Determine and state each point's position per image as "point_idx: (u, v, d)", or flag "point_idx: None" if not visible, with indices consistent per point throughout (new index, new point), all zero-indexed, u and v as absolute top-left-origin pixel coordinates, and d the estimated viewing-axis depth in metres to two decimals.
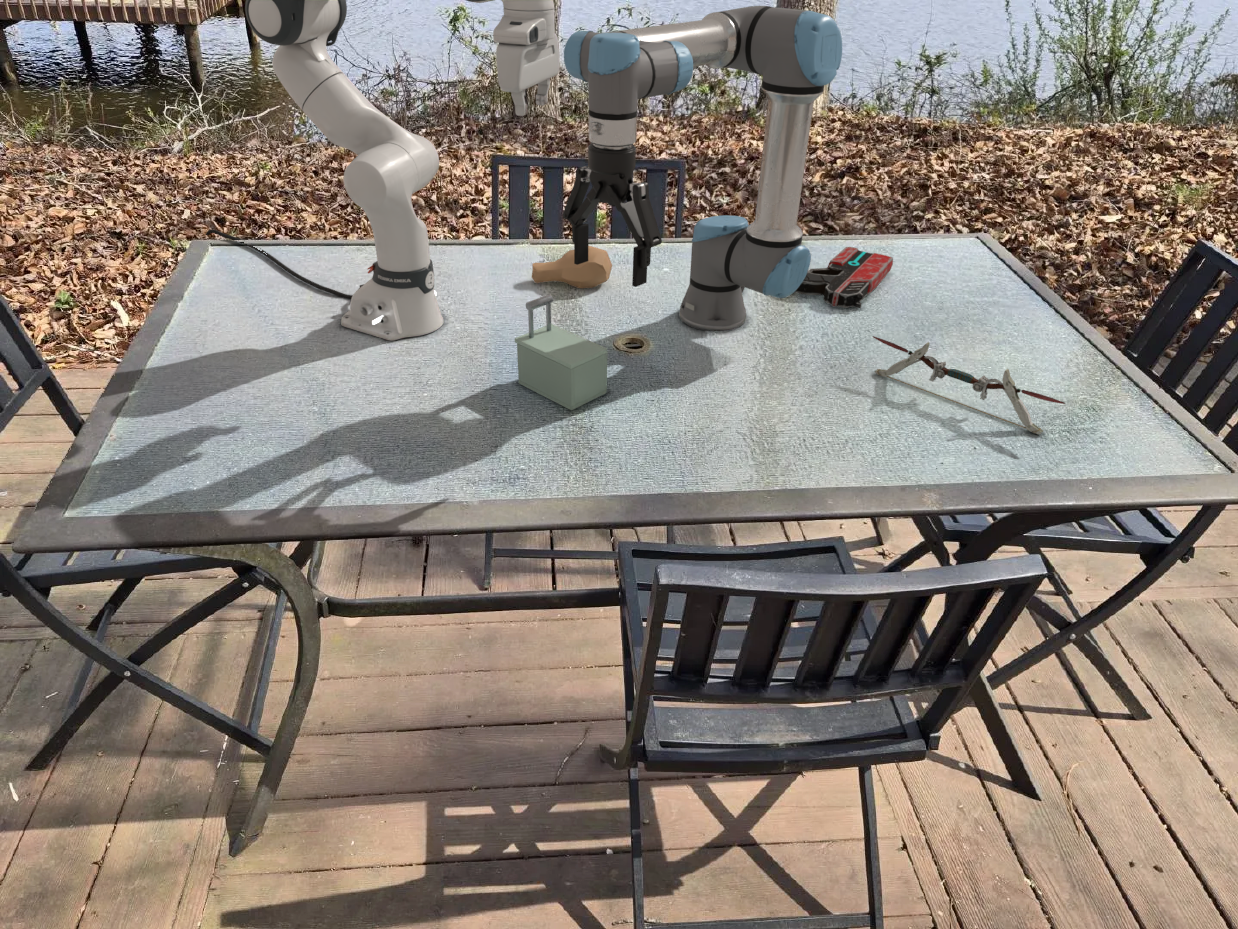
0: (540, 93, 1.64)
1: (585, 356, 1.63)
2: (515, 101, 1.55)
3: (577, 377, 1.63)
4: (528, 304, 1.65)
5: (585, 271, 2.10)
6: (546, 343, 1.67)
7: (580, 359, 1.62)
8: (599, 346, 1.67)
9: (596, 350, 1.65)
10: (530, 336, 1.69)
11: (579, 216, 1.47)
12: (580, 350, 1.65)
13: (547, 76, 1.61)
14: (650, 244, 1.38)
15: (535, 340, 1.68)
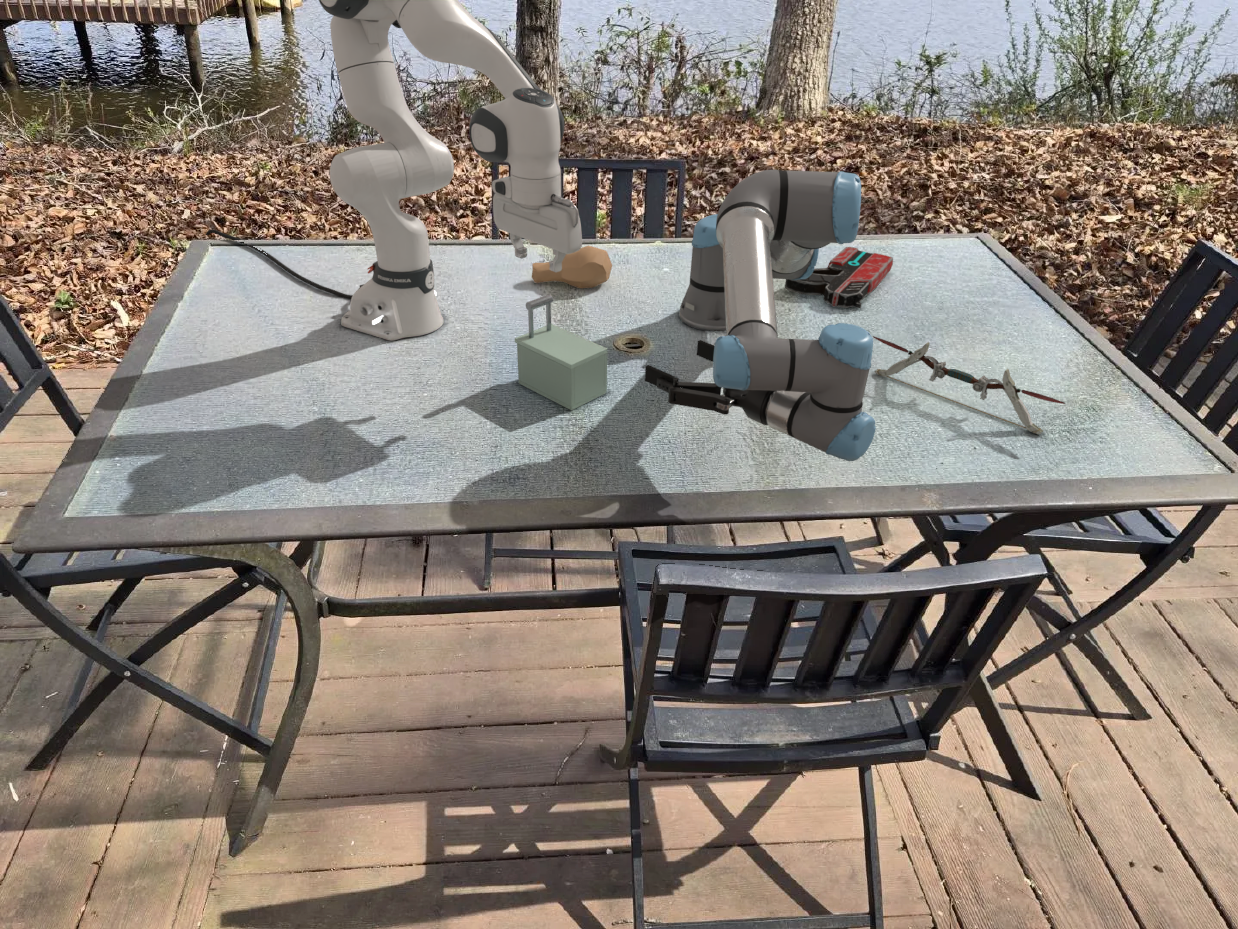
0: None
1: (585, 356, 1.63)
2: None
3: (577, 377, 1.63)
4: (528, 304, 1.65)
5: (585, 271, 2.10)
6: (546, 343, 1.67)
7: (580, 359, 1.62)
8: (599, 346, 1.67)
9: (596, 350, 1.65)
10: (530, 336, 1.69)
11: None
12: (580, 350, 1.65)
13: (543, 243, 1.57)
14: None
15: (535, 340, 1.68)
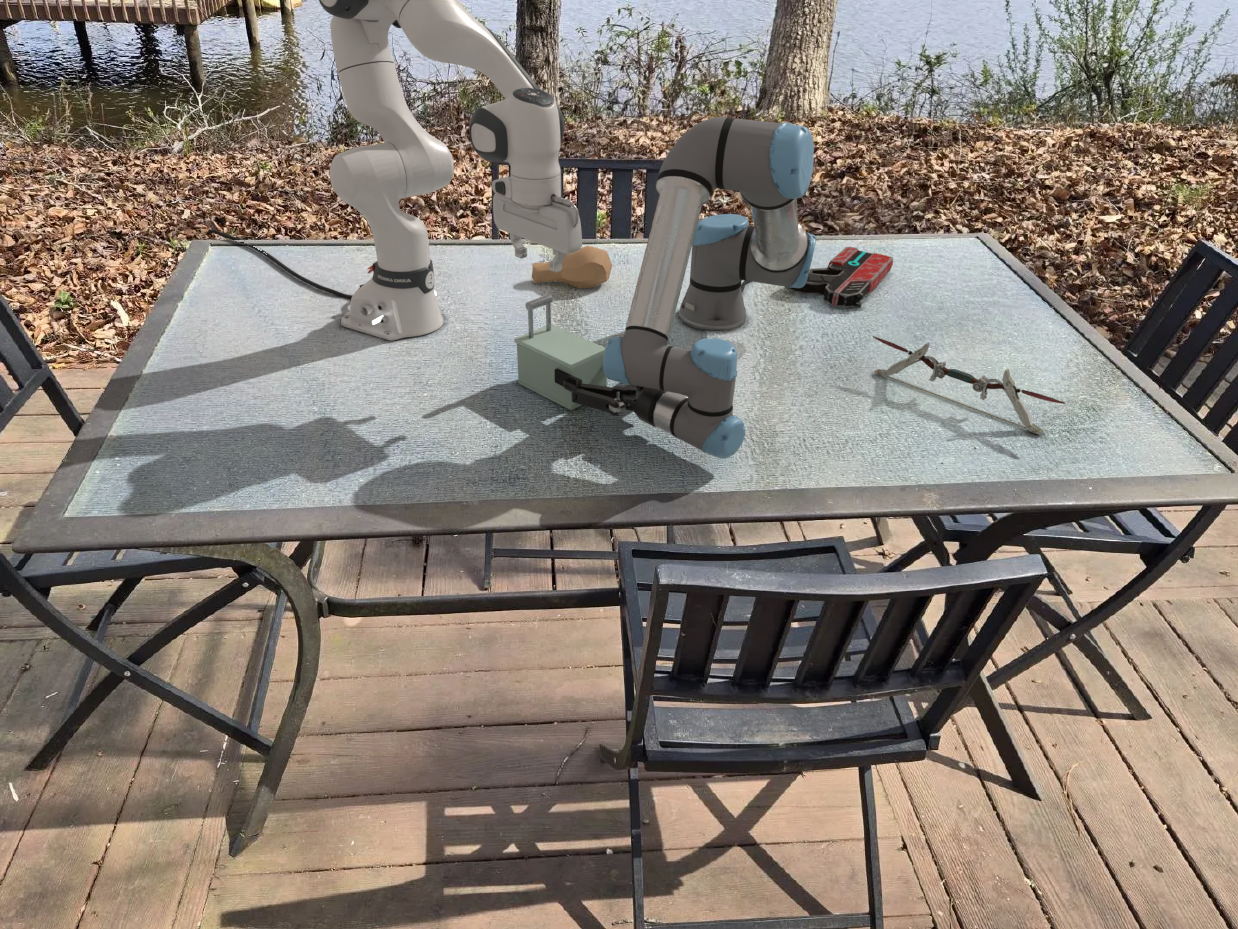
0: None
1: (585, 356, 1.63)
2: None
3: (577, 377, 1.63)
4: (528, 304, 1.65)
5: (585, 271, 2.10)
6: (546, 343, 1.67)
7: (580, 359, 1.62)
8: (599, 346, 1.67)
9: (595, 350, 1.65)
10: (530, 336, 1.69)
11: None
12: (580, 350, 1.65)
13: (543, 243, 1.57)
14: None
15: (535, 340, 1.68)
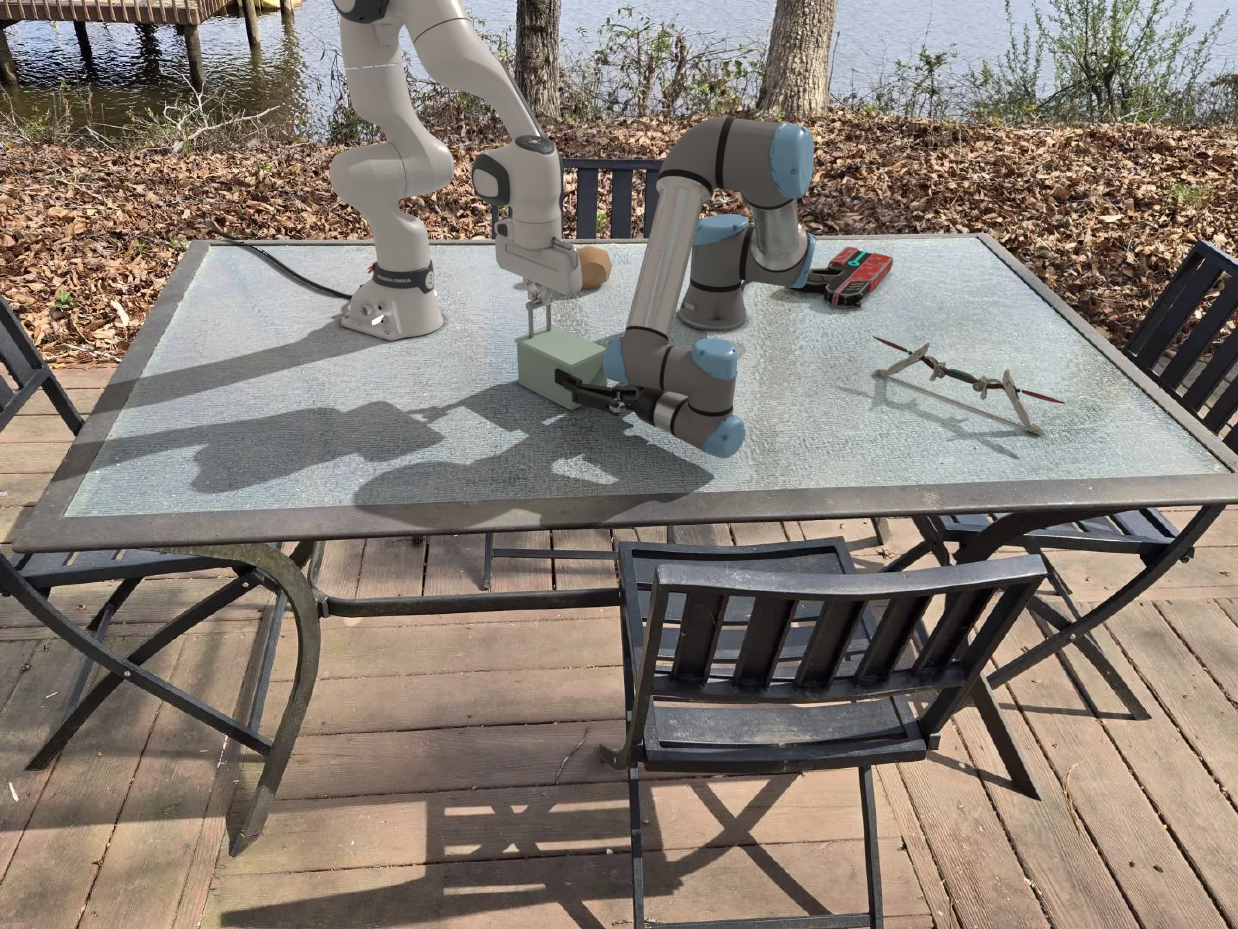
0: None
1: (585, 356, 1.63)
2: None
3: (577, 377, 1.63)
4: (528, 304, 1.65)
5: (585, 271, 2.10)
6: (546, 343, 1.67)
7: (580, 359, 1.62)
8: (599, 346, 1.67)
9: (596, 350, 1.65)
10: (530, 336, 1.69)
11: None
12: (580, 350, 1.65)
13: (544, 283, 1.61)
14: None
15: (535, 340, 1.68)
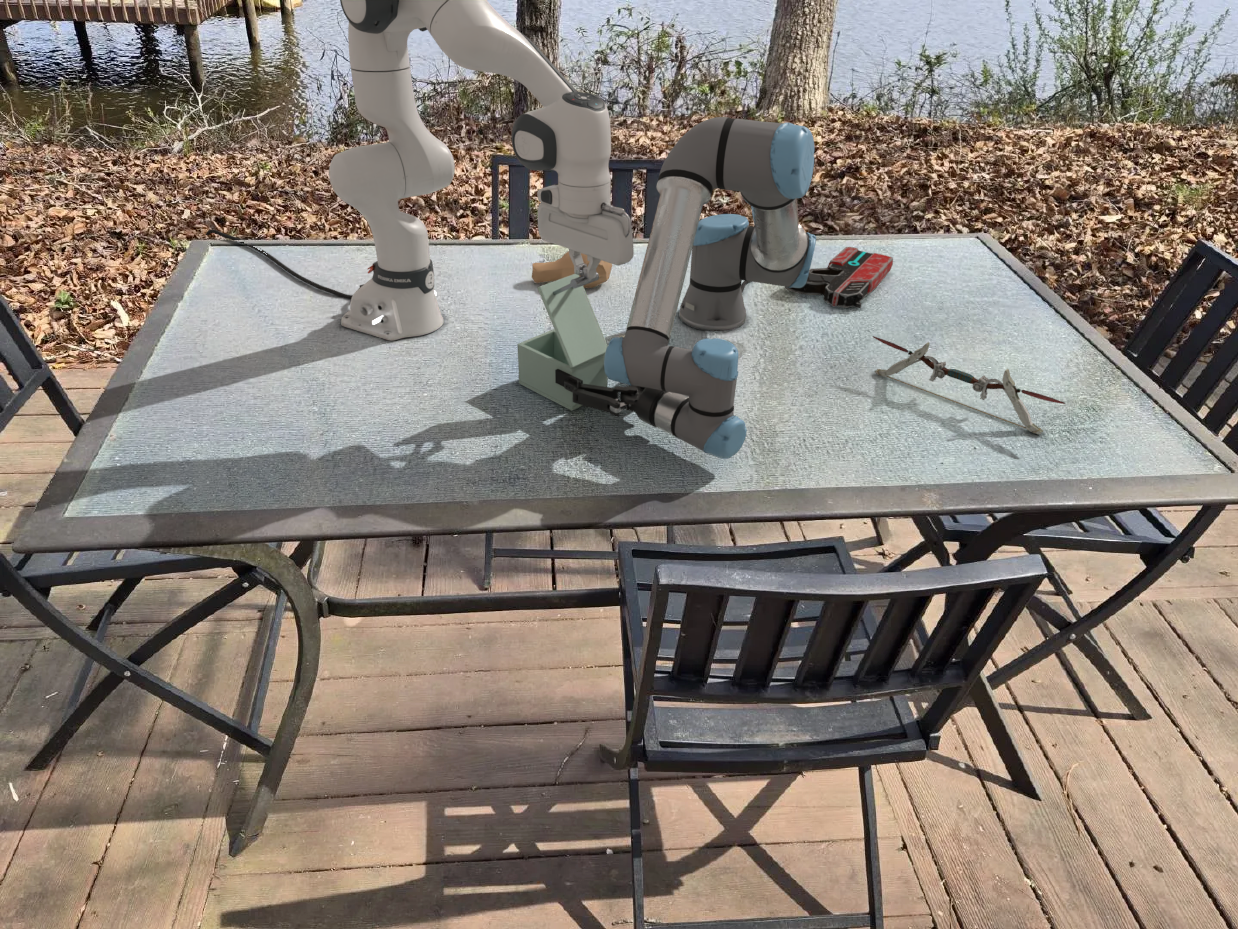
0: None
1: (588, 356, 1.62)
2: None
3: (578, 377, 1.63)
4: (575, 283, 1.54)
5: None
6: (563, 313, 1.60)
7: (583, 360, 1.62)
8: (604, 343, 1.65)
9: (599, 350, 1.64)
10: (554, 293, 1.59)
11: None
12: (587, 342, 1.63)
13: (591, 254, 1.49)
14: None
15: (556, 301, 1.59)
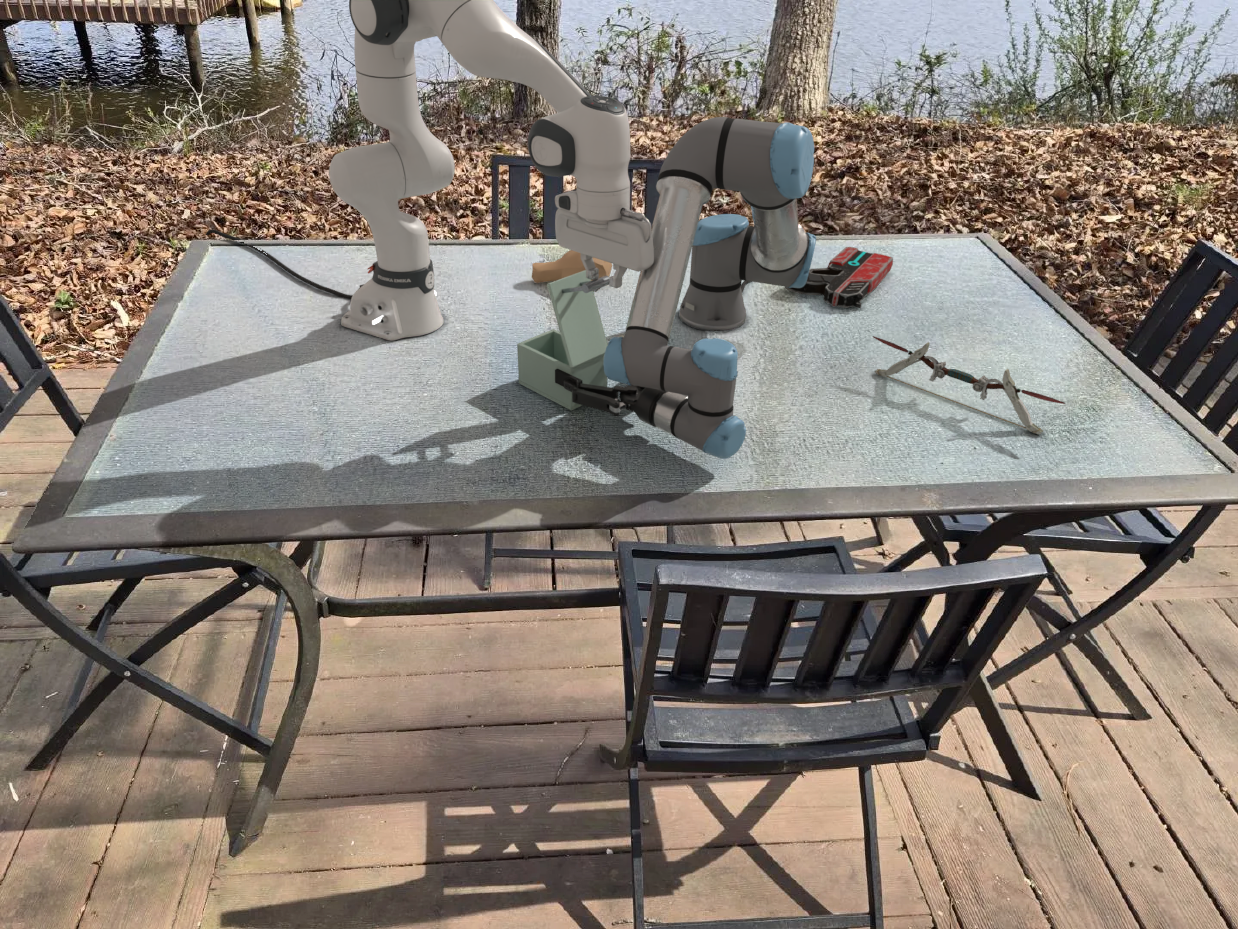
0: None
1: (588, 356, 1.62)
2: None
3: (577, 377, 1.63)
4: (586, 288, 1.52)
5: None
6: (569, 311, 1.59)
7: (583, 360, 1.62)
8: (605, 343, 1.65)
9: (599, 350, 1.64)
10: (563, 291, 1.57)
11: None
12: (589, 342, 1.62)
13: (611, 260, 1.47)
14: None
15: (563, 299, 1.58)
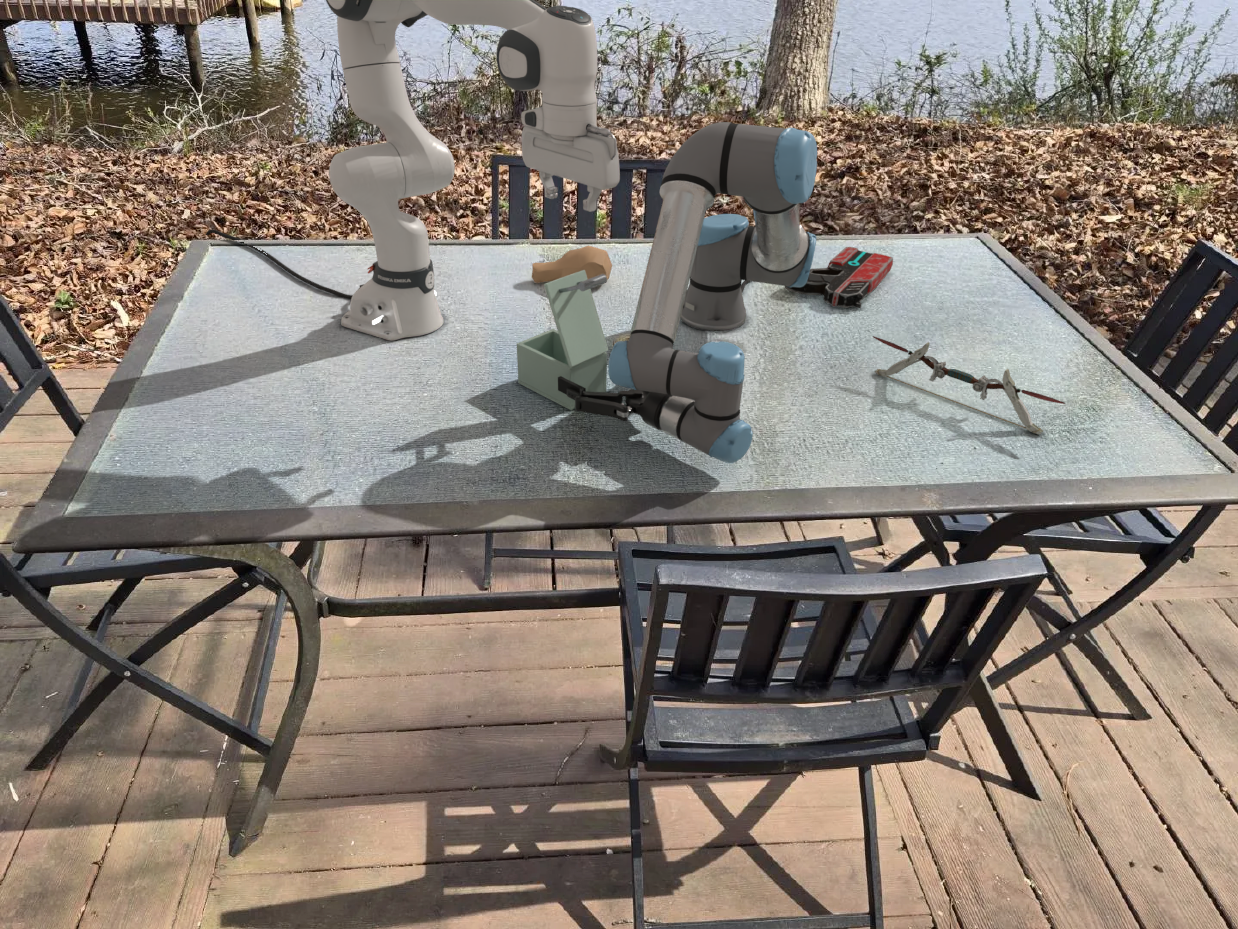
0: None
1: (587, 356, 1.63)
2: None
3: (577, 377, 1.63)
4: (583, 286, 1.52)
5: (585, 271, 2.10)
6: (567, 311, 1.59)
7: (582, 360, 1.62)
8: (604, 342, 1.65)
9: (599, 350, 1.64)
10: (560, 291, 1.57)
11: None
12: (588, 342, 1.63)
13: (576, 179, 1.45)
14: None
15: (561, 299, 1.58)
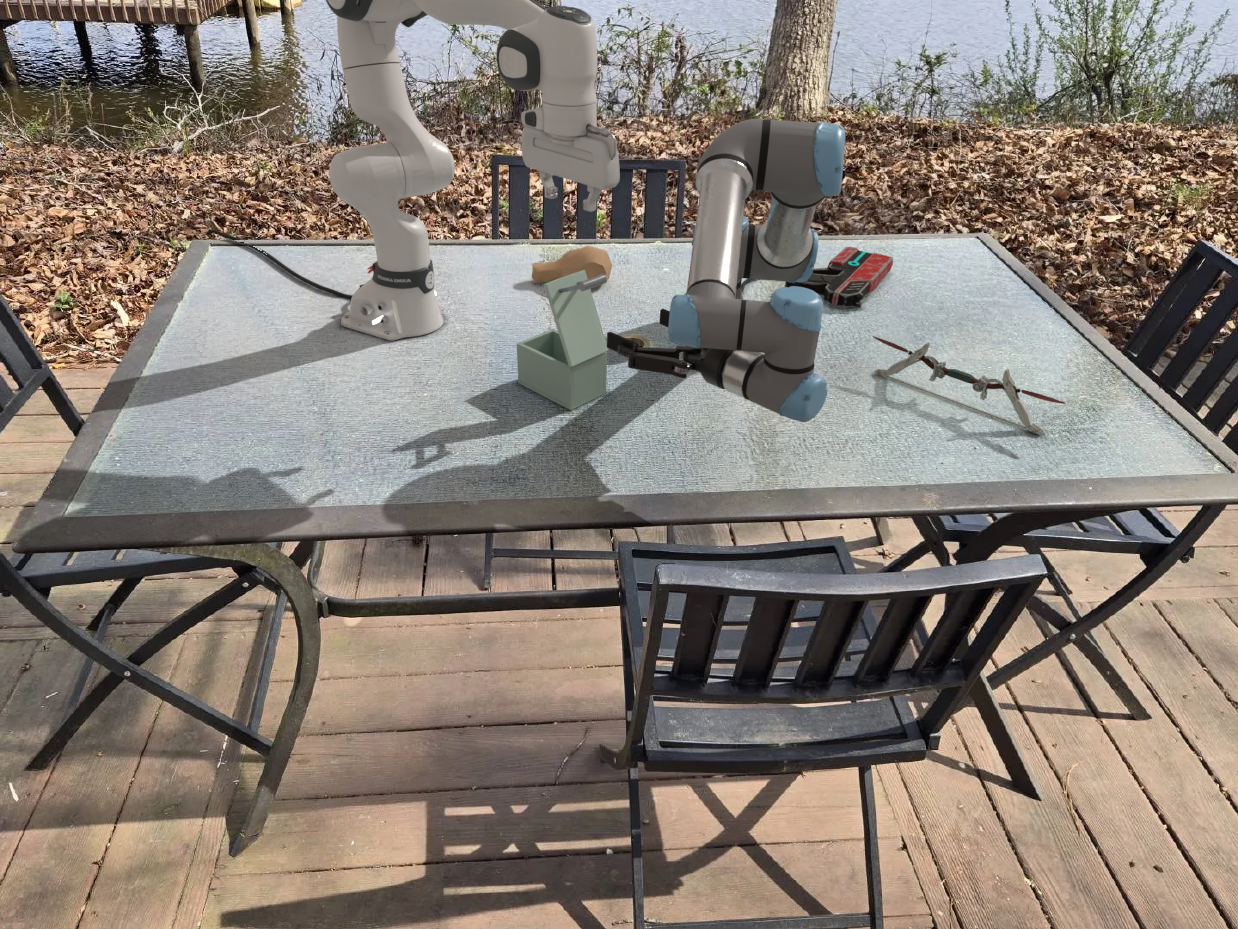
0: None
1: (587, 356, 1.63)
2: None
3: (577, 377, 1.63)
4: (583, 286, 1.52)
5: (585, 271, 2.10)
6: (567, 311, 1.59)
7: (582, 360, 1.62)
8: (604, 342, 1.65)
9: (599, 350, 1.64)
10: (560, 291, 1.57)
11: None
12: (588, 342, 1.63)
13: (576, 179, 1.45)
14: None
15: (561, 299, 1.58)
